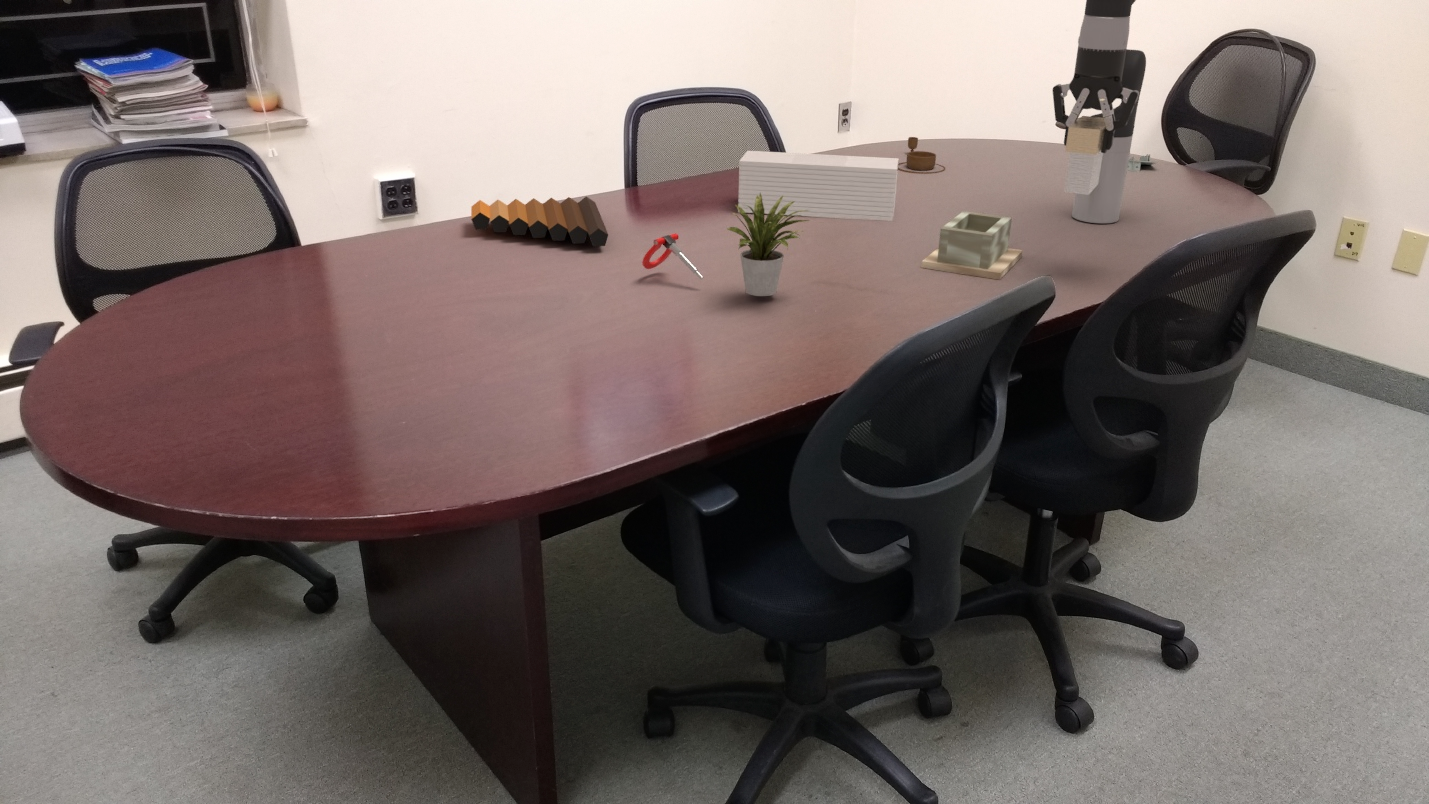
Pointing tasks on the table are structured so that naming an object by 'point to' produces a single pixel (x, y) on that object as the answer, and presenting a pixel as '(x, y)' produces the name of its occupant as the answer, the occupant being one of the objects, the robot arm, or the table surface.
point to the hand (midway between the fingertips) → (1086, 150)
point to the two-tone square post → (1084, 154)
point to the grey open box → (974, 246)
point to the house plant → (763, 247)
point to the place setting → (919, 159)
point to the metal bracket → (1139, 163)
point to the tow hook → (667, 253)
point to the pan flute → (544, 219)
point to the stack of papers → (819, 184)
